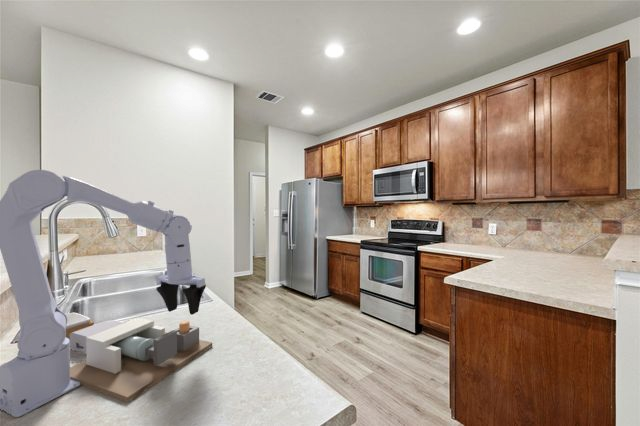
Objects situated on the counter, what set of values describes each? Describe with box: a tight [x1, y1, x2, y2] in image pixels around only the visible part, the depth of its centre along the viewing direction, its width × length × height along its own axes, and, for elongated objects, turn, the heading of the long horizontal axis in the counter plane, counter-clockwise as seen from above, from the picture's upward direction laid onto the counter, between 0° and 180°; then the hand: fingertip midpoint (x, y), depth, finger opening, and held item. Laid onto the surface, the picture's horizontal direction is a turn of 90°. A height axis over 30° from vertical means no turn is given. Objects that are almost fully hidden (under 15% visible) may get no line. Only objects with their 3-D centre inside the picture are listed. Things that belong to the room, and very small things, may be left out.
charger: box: [70, 319, 132, 355], centre depth 75 cm, size 5×9×15 cm
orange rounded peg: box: [178, 320, 191, 333], centre depth 69 cm, size 2×2×4 cm
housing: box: [85, 317, 200, 374], centre depth 66 cm, size 17×16×6 cm
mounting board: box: [70, 331, 213, 403], centre depth 64 cm, size 22×22×1 cm
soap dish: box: [65, 312, 95, 339], centre depth 77 cm, size 12×10×5 cm
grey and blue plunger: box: [110, 329, 177, 366], centre depth 63 cm, size 5×17×7 cm, turn 69°
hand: (183, 311), depth 70 cm, fingers open, 7 cm apart
